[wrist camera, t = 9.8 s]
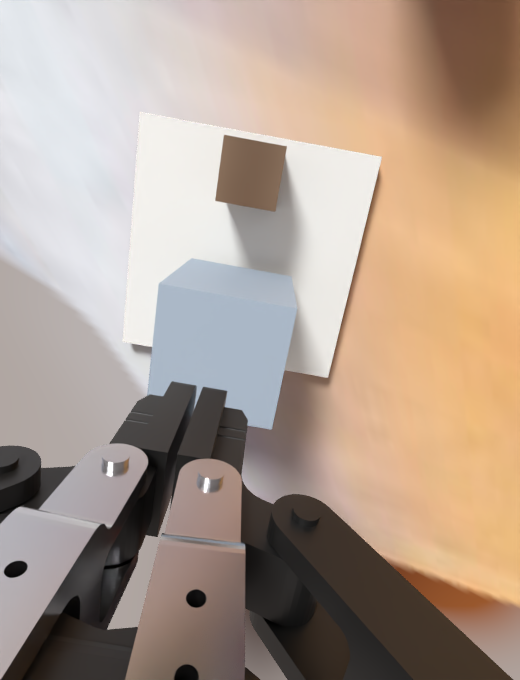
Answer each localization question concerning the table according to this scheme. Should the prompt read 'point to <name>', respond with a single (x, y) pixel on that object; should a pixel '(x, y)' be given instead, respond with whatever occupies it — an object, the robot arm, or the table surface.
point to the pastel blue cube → (224, 335)
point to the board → (248, 227)
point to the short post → (250, 173)
